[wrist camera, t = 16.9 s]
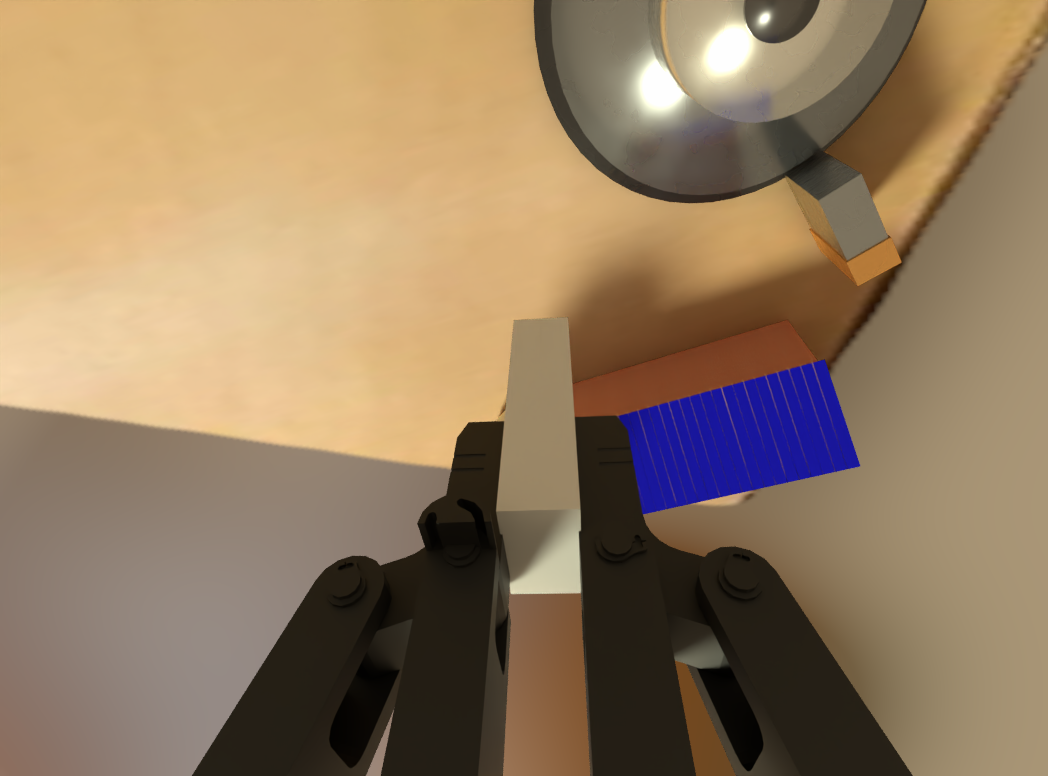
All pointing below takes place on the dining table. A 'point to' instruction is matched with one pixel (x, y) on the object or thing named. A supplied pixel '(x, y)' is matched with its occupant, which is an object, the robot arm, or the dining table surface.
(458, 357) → the dining table surface
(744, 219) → the dining table surface
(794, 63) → the cover
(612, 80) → the turntable
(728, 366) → the house
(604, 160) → the turntable base
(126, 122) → the dining table surface
